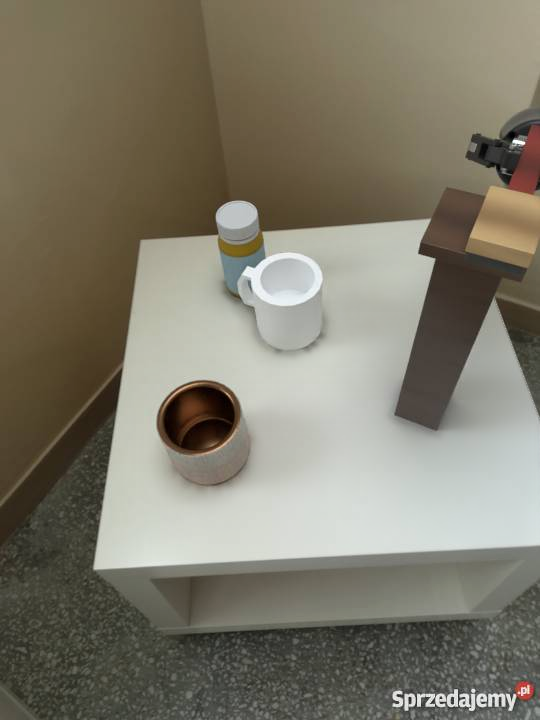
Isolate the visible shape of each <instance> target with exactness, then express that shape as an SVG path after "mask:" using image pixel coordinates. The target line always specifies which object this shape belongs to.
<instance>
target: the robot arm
mask: <svg viewBox="0 0 540 720" xmlns="http://www.w3.org/2000/svg"><path fill="white" fill-rule="evenodd" d="M532 125H538V126H540V105H537V106H531V107H526V108H523V109H522V110H520V111H518V112H517V113H515V114H513V115H512V116H511V117H510V118H508V119H507V120H506V122H504V124H503V125H502V127H500V131H499V134H498V136H499V139H498V138H492V137H489V136H486V135H483V134H482V133H479V132H476V133H472V135H471V138H470V141H469V144H468V147H467V151H466V153H465V156H464V157H465V159H467V160H468V161H470V162H471V161H472V162H474V163H477V164H478V165H481V166H484V167H485V168H486V169H491V168H494V169H495V170H496V173H497V176H498V178H499V179H500V180H501V182H502V183H503V184H504V185H505V186H506V187H508V186H509V184H510V181H511V178H512V176H513V173H514V171H515V169H516V166H517V164H518V161H519V158H520V156H521V153H522V151H523V147H524V144H525V142H526V139H527V136H528V134H529V131H530V128H531V126H532ZM537 191H540V176H539V180H538V183H537V186H536V189H535V192H537Z"/></svg>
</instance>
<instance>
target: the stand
mask: <svg viewBox="0 0 540 720" xmlns="http://www.w3.org/2000/svg"><path fill="white" fill-rule="evenodd" d="M485 198H486V195H483V194H479V193H475V192H470V191H466V190H462V189H457V188H453V187H448V186H446V187H445V188H444V191H443V193H442V195H441V197H440V199H439V201H438V203H437V206H436V208H435V210H434V212H433V214H432V217H431V218H430V220H429V223H428V225H427V227H426V229H425V230H424V233H423V235H422V238H421V240H420V242H419V246H418V251H417V254H418V255H421V256H425V257H428V258H431V259H434V263H433V266H432V270H431V274H430V278H429V281H428V285H427V290H426V293H425V296H424V301H423V304H422V308H421V312H420V316H419V320H418V323H417V327H416V330H415V334H414V338H413V343H412V346H411V350H410V354H409V358H408V361H407V365H406V369H405V373H404V377H403V380H402V383H401V388H400V391H399V395H398V400H397V403H396V406H395V411H394V416H396V417H398V418H402V419H404V420H406V421H410V422H413V423H415V424H417V425H420V426H423V427H426V428H428V429H431V430H434V431H438V429H439V427H440V425H441V423H442V419H443V418H444V415H445V413H446V410H447V408H448V405H449V403H450V401H451V399H452V396H453V394H454V392H455V389H456V387H457V385H458V382H459V380H460V379H461V375H462V373H463V371H464V369H465V366H466V364H467V362H468V359H469V356H470V354H471V352H472V349H473V348H474V345H475V342H476V340H477V338H478V335H479V333H480V332H481V328H482V326H483V324H484V322H485V320H486V318H487V315H488V312H489V310H490V307H491V305H492V304H493V301H494V299H495V297H496V294H497V291H498V289H499V287H500V284H501V282H502V279H506V280H510V281H512V282H513V281H514V282H517V283H522V282H523V281H524V277H525V276H526V273H527V271H528V268H524V271H523V273H522V275H521V276H518V275H515V274H511V273H507V272H504V271H500V270H497V269H493V268H489V267H486V266H482V265H478V264H475V263H471V262H468V261H465V258H466V255H467V252H466V251H465V249H466V246H467V243H468V240H469V237H470V234H471V232H472V230H473V227H474V225H475V222H476V220H477V217H478V215H479V212H480V210H481V208H482V205H483V203H484V200H485Z"/></svg>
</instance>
